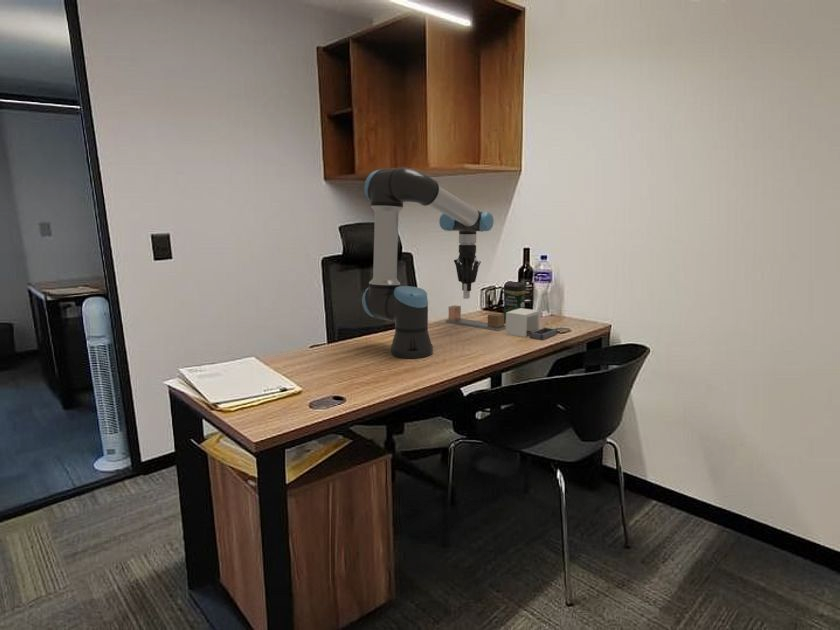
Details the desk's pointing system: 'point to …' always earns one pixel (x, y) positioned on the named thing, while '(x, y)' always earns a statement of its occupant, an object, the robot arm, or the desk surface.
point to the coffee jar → (514, 296)
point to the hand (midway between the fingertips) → (466, 298)
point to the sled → (493, 321)
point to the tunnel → (522, 321)
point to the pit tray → (543, 333)
